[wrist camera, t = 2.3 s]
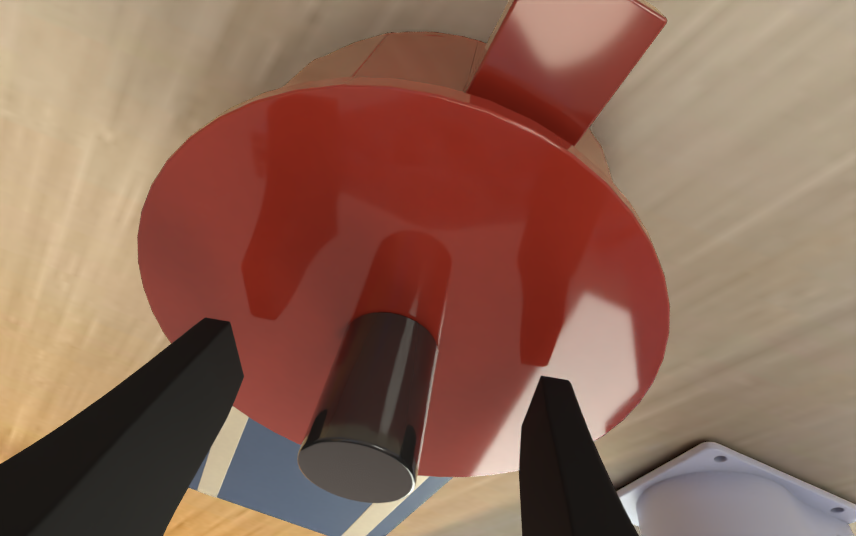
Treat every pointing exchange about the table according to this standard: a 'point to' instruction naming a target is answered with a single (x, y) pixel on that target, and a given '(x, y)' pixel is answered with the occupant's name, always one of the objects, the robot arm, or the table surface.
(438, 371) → the lid
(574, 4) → the pot
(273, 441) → the towel
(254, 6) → the table surface
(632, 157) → the table surface
